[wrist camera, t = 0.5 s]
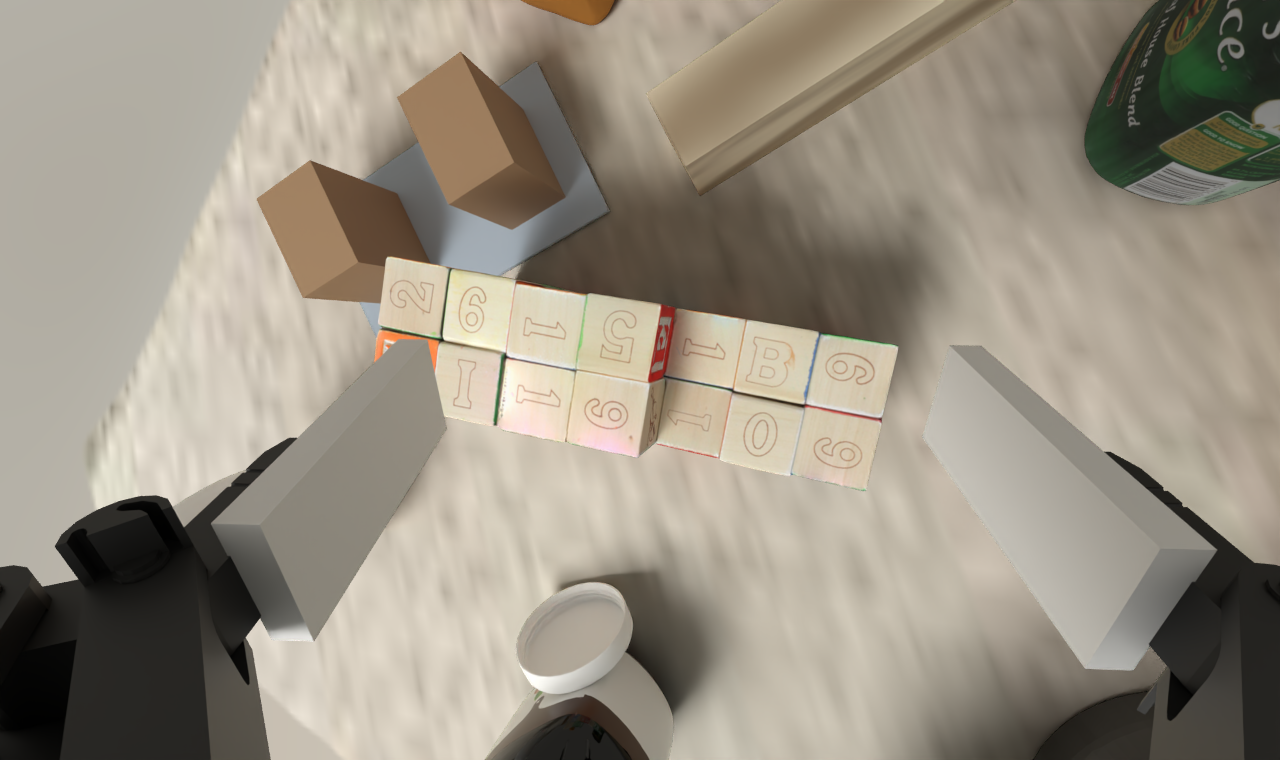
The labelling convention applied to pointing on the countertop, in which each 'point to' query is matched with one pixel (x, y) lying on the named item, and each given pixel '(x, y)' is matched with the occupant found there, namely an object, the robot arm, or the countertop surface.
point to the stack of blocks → (641, 373)
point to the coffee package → (576, 9)
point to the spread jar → (585, 685)
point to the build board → (441, 190)
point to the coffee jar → (1192, 103)
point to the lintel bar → (796, 74)
